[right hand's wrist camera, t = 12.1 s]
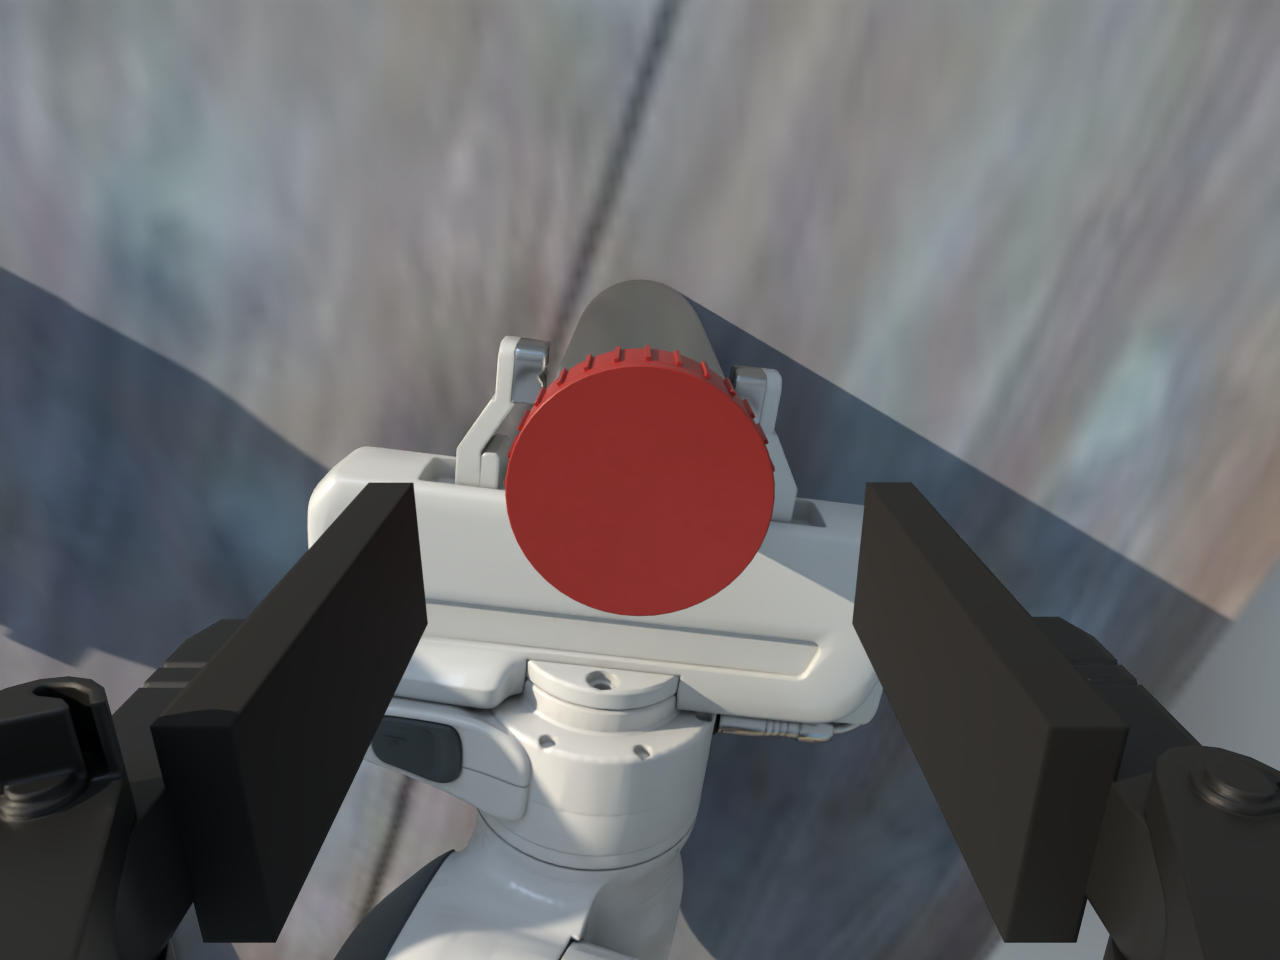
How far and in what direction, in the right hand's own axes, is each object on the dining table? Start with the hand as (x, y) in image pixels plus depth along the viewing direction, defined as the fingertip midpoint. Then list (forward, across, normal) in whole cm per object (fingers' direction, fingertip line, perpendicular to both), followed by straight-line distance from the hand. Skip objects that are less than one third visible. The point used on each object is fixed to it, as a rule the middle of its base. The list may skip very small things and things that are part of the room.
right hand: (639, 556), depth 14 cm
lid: (+3, 0, 0) cm, 3 cm away
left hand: (+13, 0, -1) cm, 13 cm away
